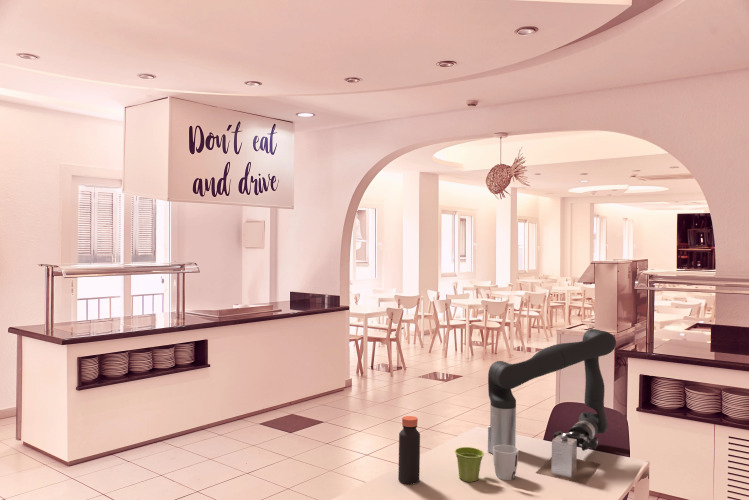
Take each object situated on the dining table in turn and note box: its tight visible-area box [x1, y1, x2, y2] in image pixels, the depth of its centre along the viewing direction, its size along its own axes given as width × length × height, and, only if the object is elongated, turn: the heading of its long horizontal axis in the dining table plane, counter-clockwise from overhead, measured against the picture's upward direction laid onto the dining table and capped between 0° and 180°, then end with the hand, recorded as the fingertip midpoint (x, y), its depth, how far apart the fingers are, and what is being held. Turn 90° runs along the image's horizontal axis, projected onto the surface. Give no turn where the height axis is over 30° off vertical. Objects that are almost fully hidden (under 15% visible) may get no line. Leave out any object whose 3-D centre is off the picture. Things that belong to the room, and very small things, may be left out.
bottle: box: [397, 415, 421, 485], centre depth 182 cm, size 7×7×20 cm
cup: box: [492, 445, 519, 481], centre depth 184 cm, size 8×8×10 cm
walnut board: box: [535, 456, 601, 485], centre depth 193 cm, size 16×22×1 cm
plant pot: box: [454, 446, 485, 483], centre depth 185 cm, size 9×9×9 cm
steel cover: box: [551, 436, 578, 479], centre depth 188 cm, size 6×6×12 cm
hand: (570, 445), depth 194 cm, fingers open, 8 cm apart
